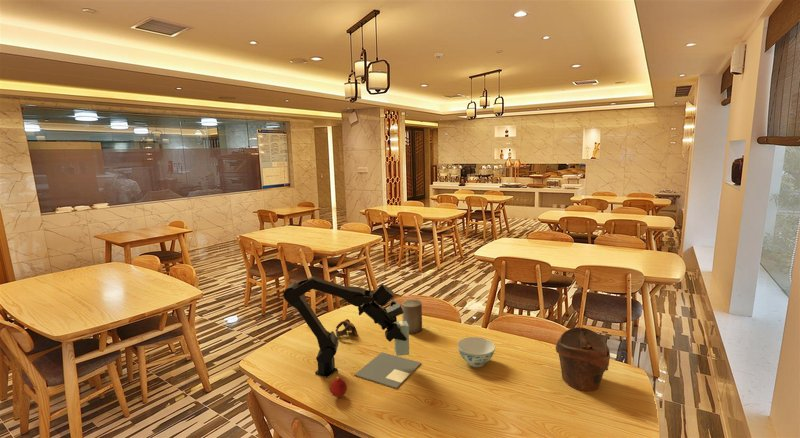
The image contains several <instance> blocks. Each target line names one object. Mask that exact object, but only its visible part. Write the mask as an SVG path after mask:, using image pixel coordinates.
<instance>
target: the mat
mask: <svg viewBox="0 0 800 438" xmlns="http://www.w3.org/2000/svg"><path fill="white" fill-rule="evenodd" d="M421 365H422V362H420V361H418V360H413V359H409V358H406V357H402V356H397V355H394V354H391V353H387V352H383V351H381V353H379V354H378V355H377V356H375V357H374V358H372V359H371V360H370V361H369V362H368V363H367V364H365V365H364V366H363V367H362V368H360V369H359V370H358V371H357V372H356V373H354V377H357V378H360V379H364V380H367V381H370V382H373V383H377V384H379V385H382V386H386V387H390V388H393V389H396V390H397V389H398V388H399V387H400V386H402V384H403V383H404V382H405V381H406V380H407V379H408V378H409V377H410V376H411V375H412V373H414V372H415V371H416V370H417V369H418V368H419V367H420V366H421Z"/></svg>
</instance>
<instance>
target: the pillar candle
mask: <svg viewBox="0 0 800 438" xmlns="http://www.w3.org/2000/svg"><path fill="white" fill-rule="evenodd" d="M422 305H423V304H422V301H421V300H419V299H412V298H411V299H406V300H403V301H402V302H401V307H402V309H403V311H404V313H403V314H401V316H402V321H407V323H408V326H409V334H417V333H421V332H422V331H423V311H422V310H423V309H422V308H423V307H422Z"/></svg>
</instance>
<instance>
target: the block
mask: <svg viewBox="0 0 800 438" xmlns="http://www.w3.org/2000/svg"><path fill="white" fill-rule="evenodd" d="M394 323H397V324H398V325H400V328H401V332H402V333H403V334H404V336H405V337H406V338H407V340H406V341H402V340H398V339H393V341H394V352H395V354H396V355H395V356H398V357H402V356H410V333H409V326H408V323H407V321H403V320H400V321H399V320H398V321H397V322H394Z"/></svg>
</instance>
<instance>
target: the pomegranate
mask: <svg viewBox="0 0 800 438" xmlns="http://www.w3.org/2000/svg"><path fill="white" fill-rule="evenodd" d="M329 386H330V387H329V390H330V391H329V392H330V393H331V395H332V396H333V397H335V398H336V399H337V398H338V399H340V398H341V397H344V395H345V394H346V393H347V389H348V387H347V386H348V385H347V383H346V381H345V379H343V378H341V377H339V376H336V377H335V379H333V381H332V382H331V383H330V385H329Z"/></svg>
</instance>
